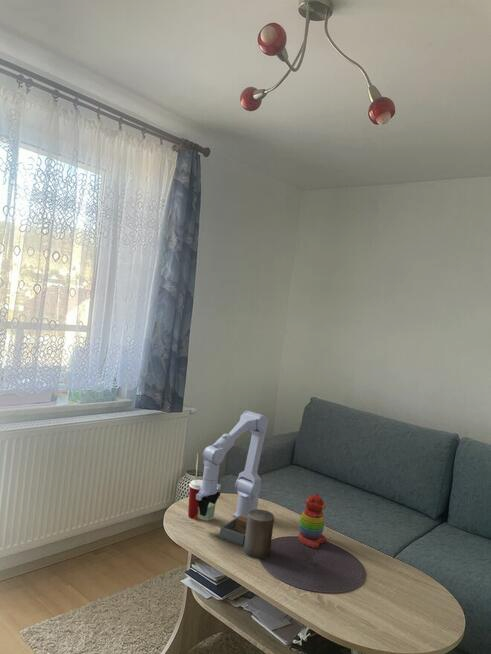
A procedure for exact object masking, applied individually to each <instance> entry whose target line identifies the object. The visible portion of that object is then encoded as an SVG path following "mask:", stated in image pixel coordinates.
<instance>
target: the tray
mask: <svg viewBox="0 0 491 654" xmlns="http://www.w3.org/2000/svg"><path fill="white" fill-rule="evenodd" d="M238 517H239V516H237V517H235V516H234V518H233V519H231V520H229V521H227V523H225V524H223V525H222V526H220V531H219V538H220V539H222V540H224V541H227V542H230V543H233V544H235V545H237V546H240V547H243V548H244V543H245V535H246V533H245V534H242V533H239V532H236V531H235V525H236V518H238Z"/></svg>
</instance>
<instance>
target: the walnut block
mask: <svg viewBox="0 0 491 654" xmlns="http://www.w3.org/2000/svg"><path fill="white" fill-rule="evenodd" d="M247 518H248V517H247V516H244V515H240V516H239V517H238V518H236V525H235V531H236V532H239V533H242V534H245V533H246V526H247Z"/></svg>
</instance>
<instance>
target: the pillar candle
mask: <svg viewBox="0 0 491 654" xmlns="http://www.w3.org/2000/svg"><path fill="white" fill-rule="evenodd" d="M274 521H275V515H274V513H272V512H270V511H268V510H266V509H265V510H264V509H258V508H257V509H255V510H251V511H249V512H248V518H247V526H246V535H245V543H244V546H243V552H244V553H245V555H246V556H248V557H250V558H254V559H266V558H268V557H269V556H271V548H272V547H271V546H272V538H273V530H274Z"/></svg>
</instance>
